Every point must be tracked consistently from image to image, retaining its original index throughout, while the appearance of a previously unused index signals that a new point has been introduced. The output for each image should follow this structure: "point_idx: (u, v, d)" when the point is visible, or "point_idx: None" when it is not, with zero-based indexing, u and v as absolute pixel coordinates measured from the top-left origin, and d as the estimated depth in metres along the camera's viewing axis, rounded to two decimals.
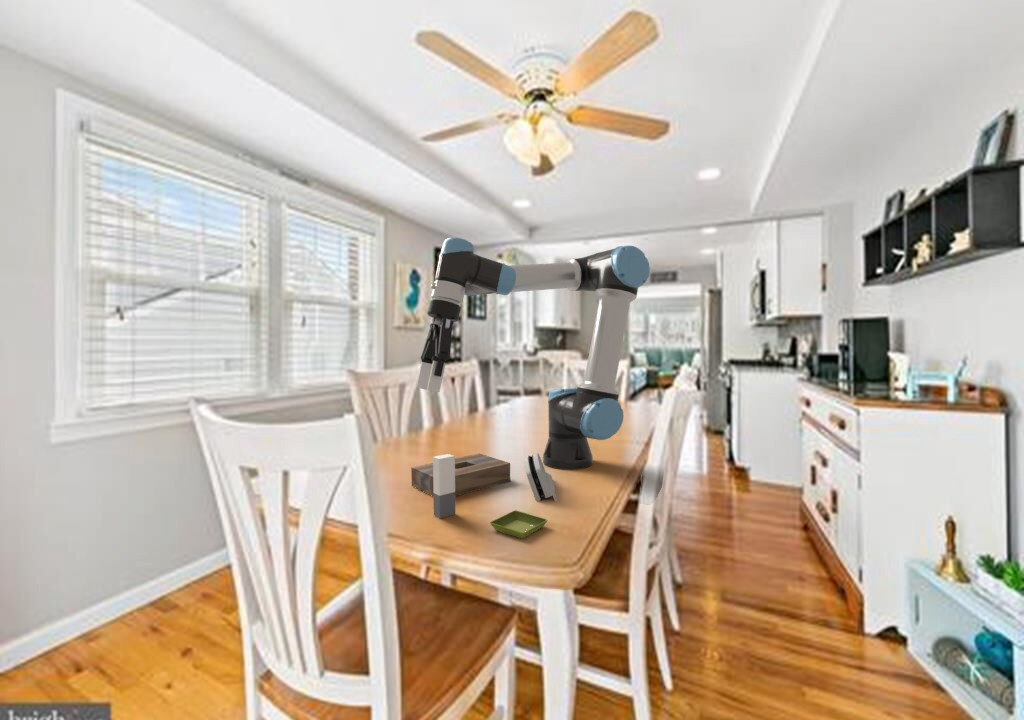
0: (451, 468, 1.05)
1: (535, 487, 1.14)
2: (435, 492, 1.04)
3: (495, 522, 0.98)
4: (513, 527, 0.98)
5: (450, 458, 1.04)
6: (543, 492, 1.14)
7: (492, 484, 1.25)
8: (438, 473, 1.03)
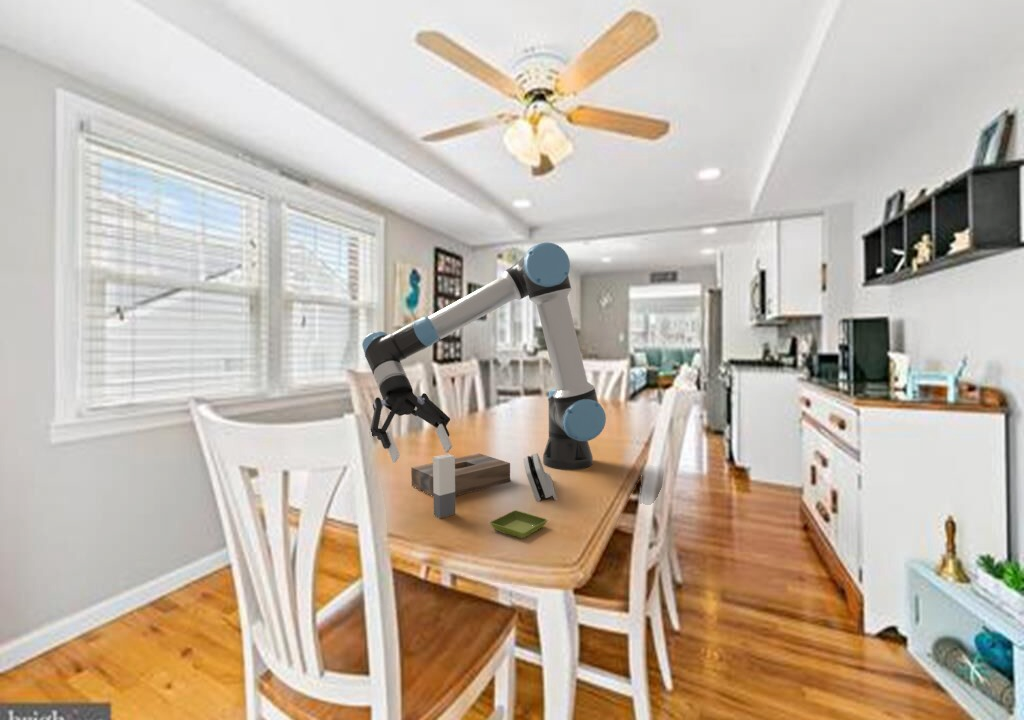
0: (451, 468, 1.05)
1: (535, 487, 1.14)
2: (435, 492, 1.04)
3: (495, 522, 0.98)
4: (513, 527, 0.98)
5: (450, 458, 1.04)
6: (543, 492, 1.14)
7: (492, 484, 1.25)
8: (438, 473, 1.03)
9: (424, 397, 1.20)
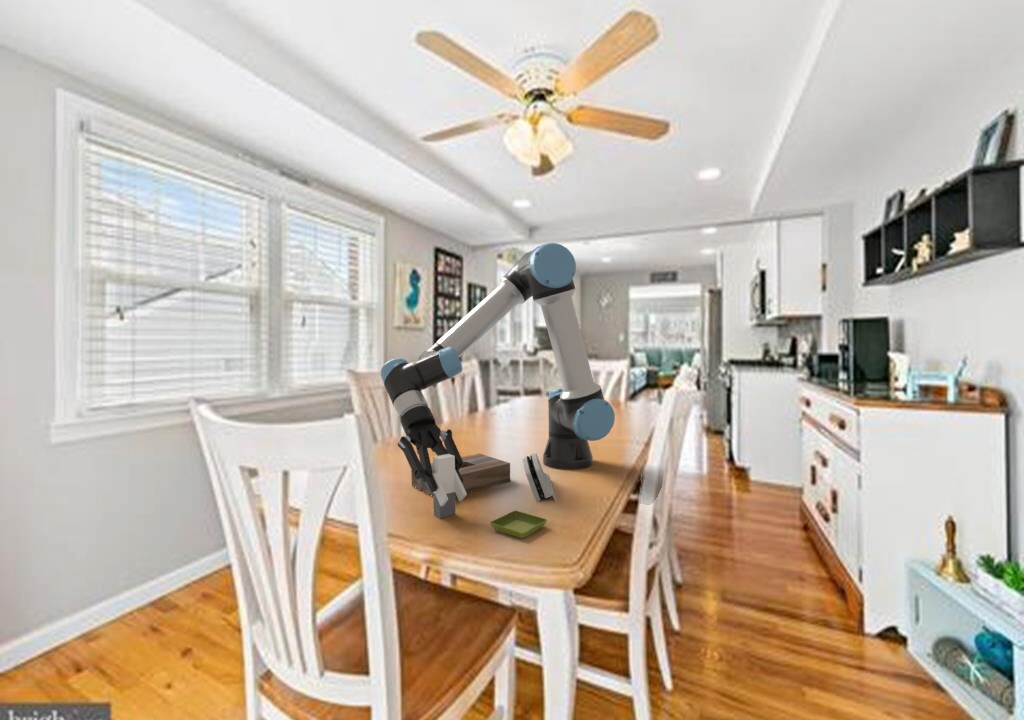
0: (451, 468, 1.05)
1: (535, 487, 1.14)
2: None
3: (495, 522, 0.98)
4: (513, 527, 0.98)
5: (450, 458, 1.04)
6: (543, 492, 1.14)
7: (492, 484, 1.25)
8: (438, 473, 1.03)
9: (447, 433, 1.13)
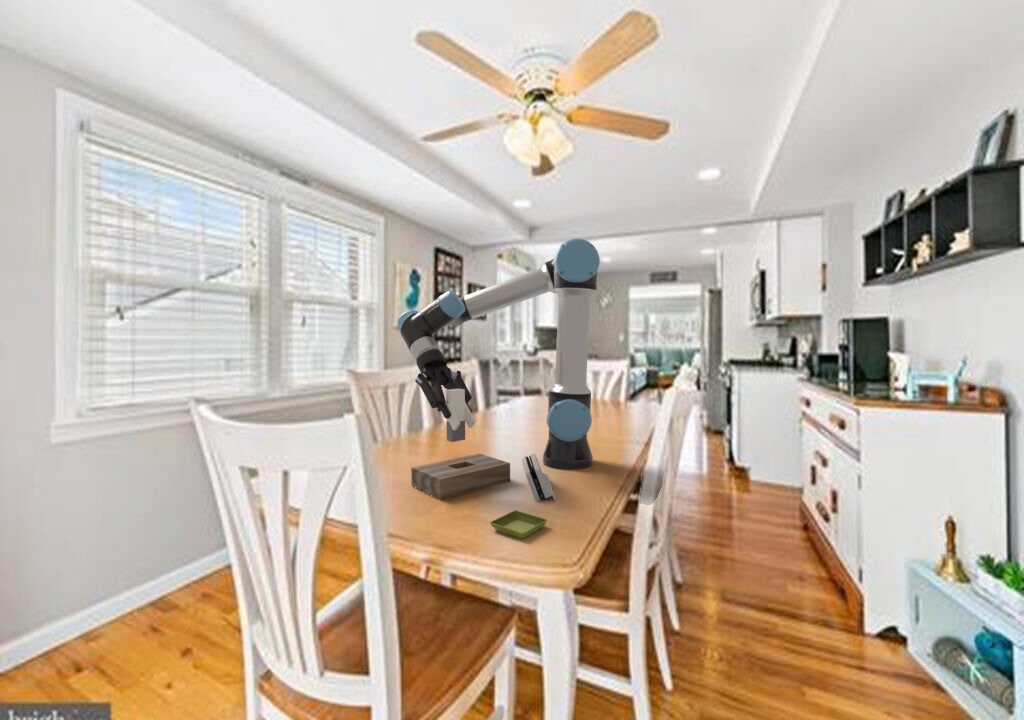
0: (461, 399, 1.22)
1: (535, 487, 1.14)
2: None
3: (495, 522, 0.98)
4: (513, 527, 0.98)
5: (461, 391, 1.22)
6: (543, 492, 1.14)
7: (492, 484, 1.25)
8: (451, 403, 1.20)
9: (457, 373, 1.30)
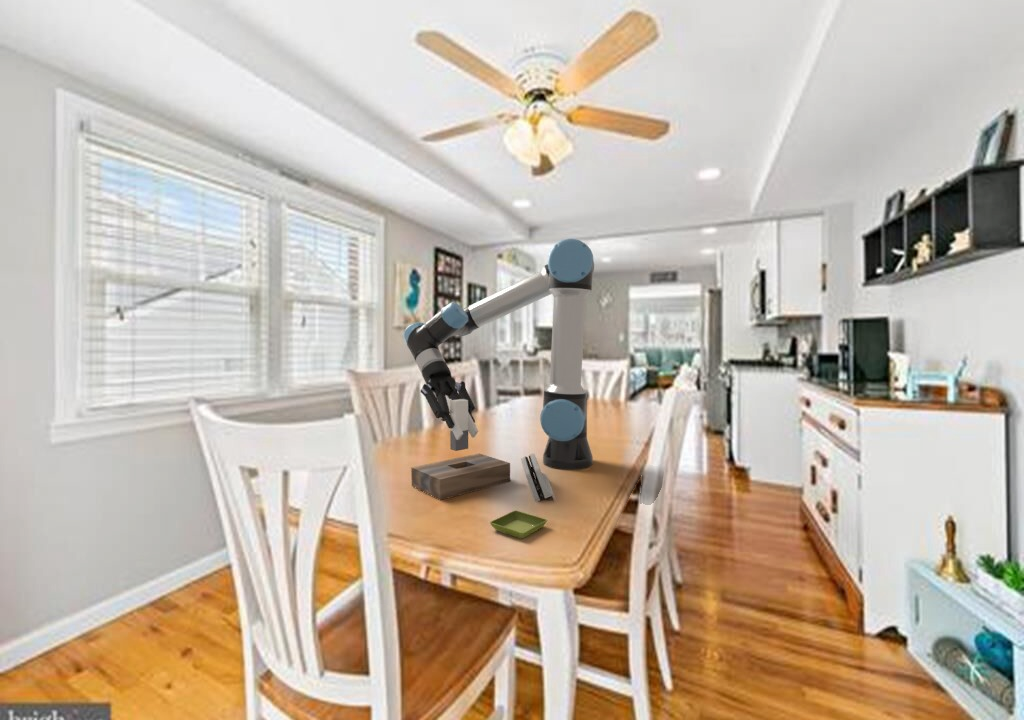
0: (465, 409, 1.26)
1: (534, 487, 1.14)
2: None
3: (495, 522, 0.98)
4: (513, 527, 0.98)
5: (464, 401, 1.26)
6: (542, 492, 1.14)
7: (492, 484, 1.25)
8: (454, 413, 1.24)
9: (461, 384, 1.34)
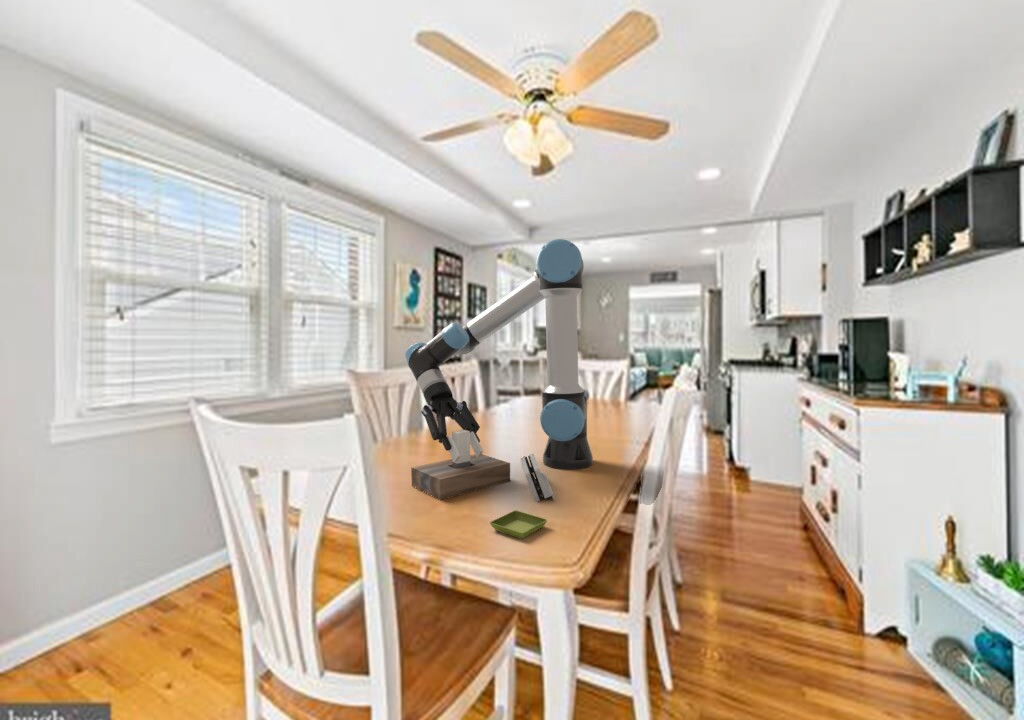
0: (466, 441, 1.26)
1: (534, 487, 1.14)
2: None
3: (495, 522, 0.98)
4: (513, 527, 0.98)
5: (466, 433, 1.26)
6: (542, 492, 1.14)
7: (492, 484, 1.25)
8: (456, 445, 1.25)
9: (463, 404, 1.35)
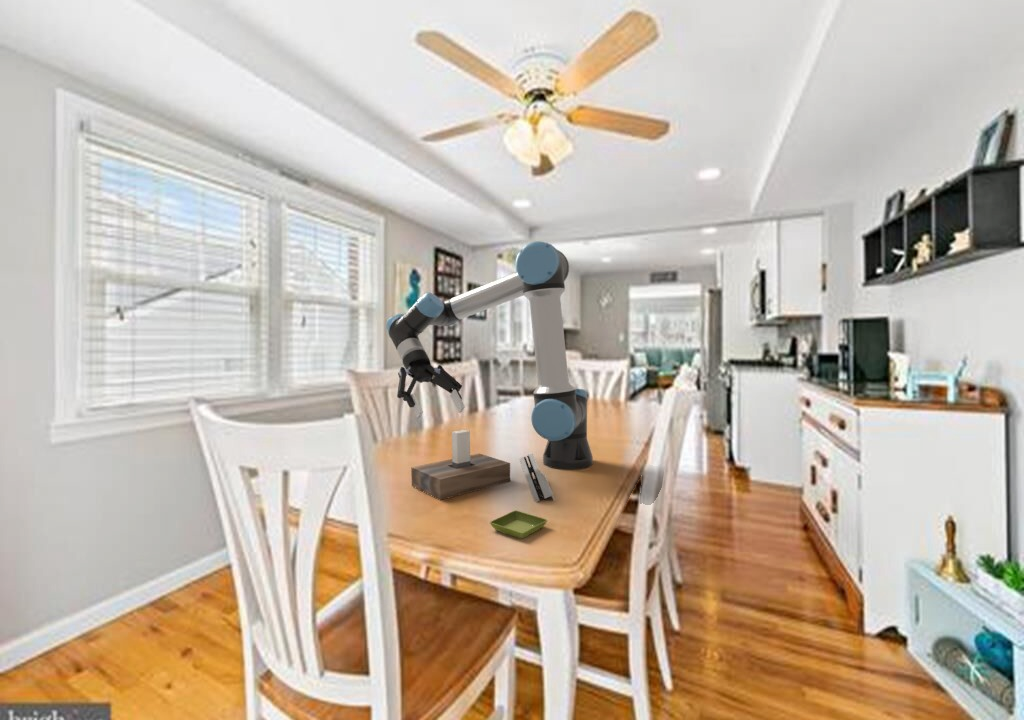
0: (466, 441, 1.26)
1: (534, 488, 1.14)
2: (454, 461, 1.26)
3: (495, 522, 0.98)
4: (513, 527, 0.98)
5: (466, 433, 1.26)
6: (542, 492, 1.14)
7: (492, 484, 1.25)
8: (456, 445, 1.25)
9: (440, 368, 1.44)
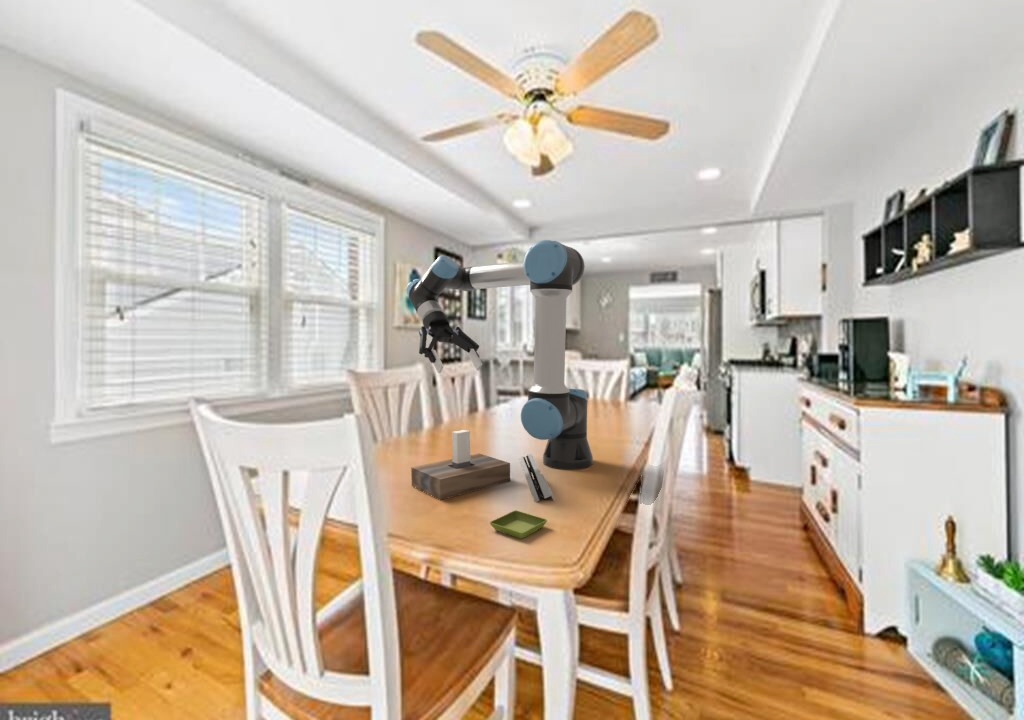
0: (466, 441, 1.26)
1: (534, 488, 1.13)
2: (454, 461, 1.26)
3: (495, 522, 0.98)
4: (513, 527, 0.98)
5: (466, 433, 1.26)
6: (542, 493, 1.13)
7: (492, 484, 1.25)
8: (456, 445, 1.25)
9: (458, 329, 1.50)
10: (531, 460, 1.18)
